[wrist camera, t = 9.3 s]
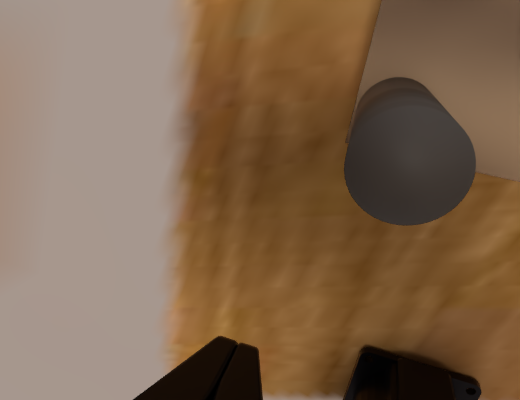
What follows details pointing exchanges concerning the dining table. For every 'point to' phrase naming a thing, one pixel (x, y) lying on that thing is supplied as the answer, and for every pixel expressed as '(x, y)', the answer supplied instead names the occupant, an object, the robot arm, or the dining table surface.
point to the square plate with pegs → (435, 107)
